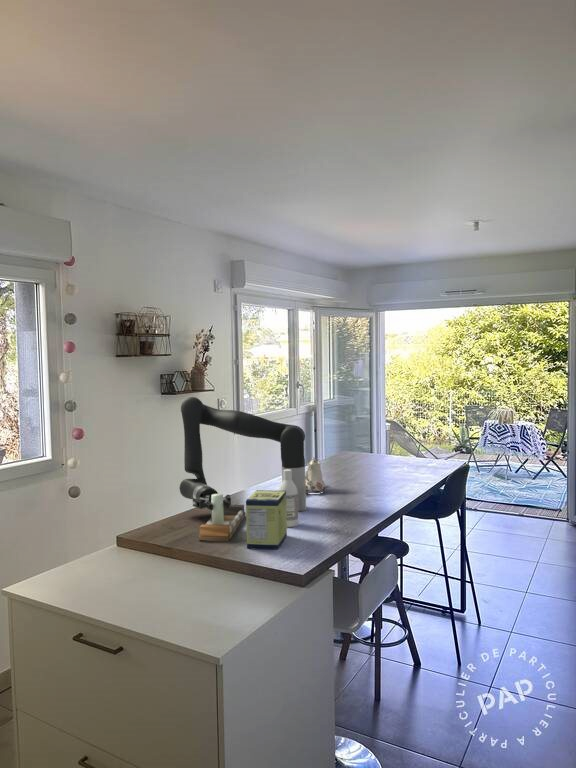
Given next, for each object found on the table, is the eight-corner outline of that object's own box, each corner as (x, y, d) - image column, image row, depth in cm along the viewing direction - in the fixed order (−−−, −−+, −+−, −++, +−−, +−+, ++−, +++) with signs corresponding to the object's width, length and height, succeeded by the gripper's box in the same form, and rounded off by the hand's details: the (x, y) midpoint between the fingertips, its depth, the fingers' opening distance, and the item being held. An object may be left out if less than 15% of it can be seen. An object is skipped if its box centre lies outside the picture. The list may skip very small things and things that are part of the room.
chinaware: (305, 488, 281) (301, 453, 281) (337, 487, 274) (333, 451, 274) (279, 501, 256) (274, 463, 256) (314, 500, 248) (309, 461, 249)
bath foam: (301, 526, 210) (300, 470, 209) (284, 528, 207) (283, 472, 206) (293, 521, 216) (292, 467, 215) (275, 524, 213) (274, 469, 212)
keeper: (210, 527, 204) (209, 493, 204) (229, 527, 203) (229, 493, 203) (205, 532, 198) (205, 497, 198) (226, 532, 197) (225, 497, 197)
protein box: (287, 535, 199) (286, 490, 198) (278, 550, 183) (277, 500, 183) (257, 534, 201) (256, 489, 200) (246, 548, 185) (245, 500, 185)
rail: (219, 515, 226) (219, 504, 226) (245, 516, 225) (244, 504, 225) (198, 541, 194) (198, 527, 194) (228, 541, 193) (228, 527, 193)
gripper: (185, 488, 210) (198, 497, 195) (224, 484, 216) (239, 492, 201) (186, 508, 211) (199, 520, 195) (224, 504, 217) (240, 514, 201)
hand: (219, 506), depth 198 cm, fingers open, 5 cm apart
